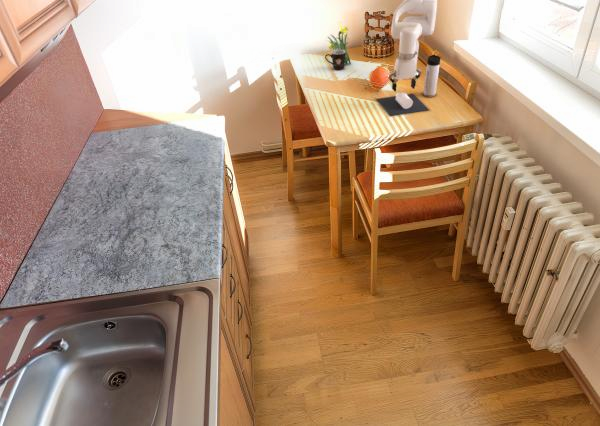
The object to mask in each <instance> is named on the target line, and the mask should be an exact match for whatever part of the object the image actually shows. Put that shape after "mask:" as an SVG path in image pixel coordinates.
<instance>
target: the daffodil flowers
mask: <svg viewBox="0 0 600 426" xmlns="http://www.w3.org/2000/svg"><path fill="white" fill-rule="evenodd" d="M342 24H343V22H341V23H340V21H338V25H339V29H340V30H339V31H338V35H337V36H338V37H335V36H334V35H333V34H330V36H327V39H326V41H327V42H328V43H330V45H328V49H329V50H332V51H333V50H338V49H341V50H345V51H346V54H345V63H344V65H345V66H347V65H351V64H352V61H351V59H350V56H349V53H348V50H347V45H348V43H349V41H347V40H349V37H347V36H348V31H349V29H348V27H347V26H345V27H343V25H342ZM331 37H332V39H333V40H332V39H331ZM328 39H329V40H328ZM337 39H338V40H337Z"/></svg>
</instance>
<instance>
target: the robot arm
mask: <svg viewBox="0 0 600 426" xmlns="http://www.w3.org/2000/svg"><path fill="white" fill-rule="evenodd" d="M393 12H394V13H393V15H392V20H391V28H390V35H391V38H392V39H393V40H399V44H398V45H399V46H398V56H397V57H396V58H395V61H394V68H393V71H392V72H390V73H389V74H388V75H387V78H388V80H389V81H390V82H391V89H392V91H393V92H396V93H397V85H398V84H397V82H399V81H401V80H403V81H404V80H409V79H410V80H411V81H410V87H411V88H412V89H413V90H414V89H415V87H416V84H417V81H418V79H419V78H420V77H421V75H422V73H423V70H421V69H419V68H418V60H419V59H418V57H419V49H420V42H419V38H420V37H422V36H423V37H424V36H425V37H427V36H429V37H430V36H432V35H433V34H434V31H435V27H436V19H437V12H438V0H403V1H402V2H401V3H400V4H399V5H398V6H397V7H396V9H395V10H394V11H393ZM404 13H407V14H409V16H406V17H405V18H403V19H402V21H399V19H400V17H401V16H402V15H403V14H404ZM410 15H414V16H410ZM415 15H419V16H415ZM420 15H426V16H420Z"/></svg>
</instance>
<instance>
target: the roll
mask: <svg viewBox="0 0 600 426" xmlns="http://www.w3.org/2000/svg"><path fill="white" fill-rule="evenodd" d="M395 96H396V99H395V100H396V101H397V102H398V103H399V104H400V105H401V106H402V107H403V108H404V109H408V108H410V107H411V106H412V104H413V101H412V100H411V99H410V98H409V97H408V93H406V92H396V94H395Z"/></svg>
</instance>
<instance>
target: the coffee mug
mask: <svg viewBox="0 0 600 426" xmlns="http://www.w3.org/2000/svg"><path fill="white" fill-rule="evenodd" d="M330 53H331V54H330ZM330 53H327V54H325V56H324V59H325V60H326V61H327V62H328V63H329V64H331V65H332V69H333V70H334V71H342V70H344V69H345V54H346V51H345V50H341V49H338V50H333V49H332V50H331V52H330ZM327 56H330V57H331V60H332V61H330V60H328V59H327Z"/></svg>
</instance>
